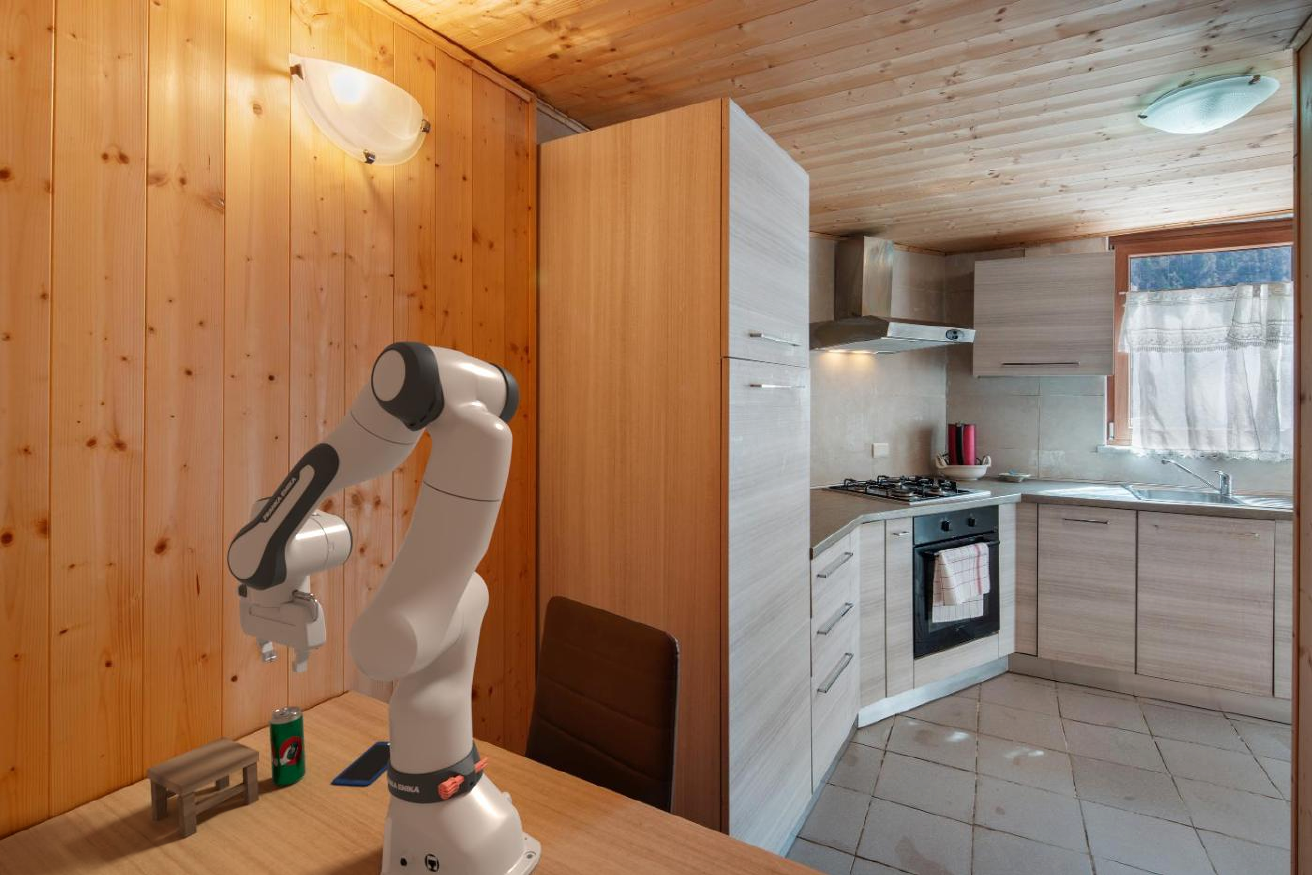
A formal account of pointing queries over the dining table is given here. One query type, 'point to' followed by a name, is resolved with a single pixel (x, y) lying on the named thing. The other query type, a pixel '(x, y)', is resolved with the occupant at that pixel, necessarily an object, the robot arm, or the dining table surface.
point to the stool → (202, 779)
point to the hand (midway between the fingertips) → (283, 666)
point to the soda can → (287, 746)
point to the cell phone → (366, 767)
